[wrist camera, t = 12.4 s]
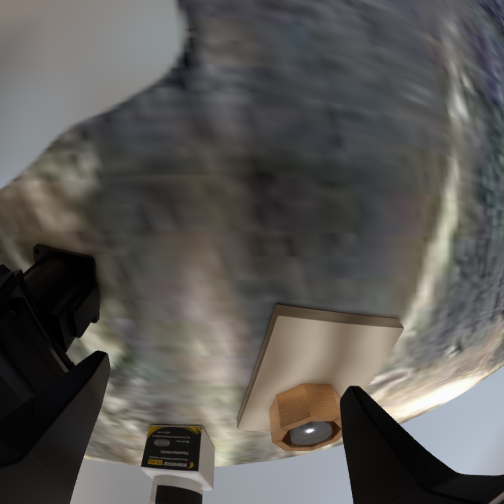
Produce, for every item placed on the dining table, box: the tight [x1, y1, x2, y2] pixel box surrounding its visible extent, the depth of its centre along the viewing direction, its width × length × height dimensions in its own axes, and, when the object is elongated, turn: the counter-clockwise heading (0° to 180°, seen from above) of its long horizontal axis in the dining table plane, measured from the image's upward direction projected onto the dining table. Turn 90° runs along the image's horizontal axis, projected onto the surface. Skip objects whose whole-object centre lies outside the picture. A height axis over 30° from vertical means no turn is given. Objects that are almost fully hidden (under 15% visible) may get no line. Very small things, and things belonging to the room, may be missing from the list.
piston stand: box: [237, 304, 404, 432], centre depth 25 cm, size 12×17×2 cm
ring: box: [269, 383, 342, 451], centre depth 24 cm, size 7×7×4 cm
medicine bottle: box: [141, 425, 215, 504], centre depth 25 cm, size 7×7×12 cm
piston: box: [289, 421, 332, 445], centre depth 24 cm, size 4×4×4 cm
